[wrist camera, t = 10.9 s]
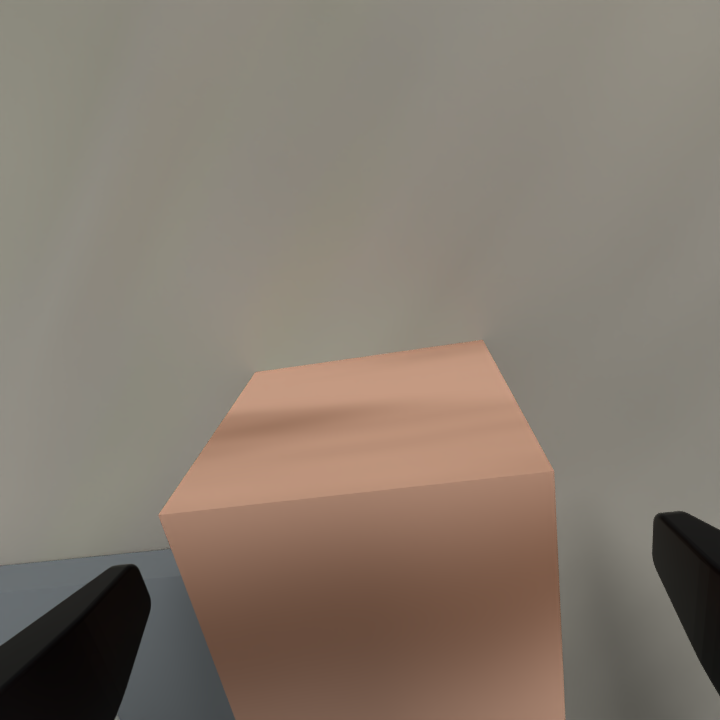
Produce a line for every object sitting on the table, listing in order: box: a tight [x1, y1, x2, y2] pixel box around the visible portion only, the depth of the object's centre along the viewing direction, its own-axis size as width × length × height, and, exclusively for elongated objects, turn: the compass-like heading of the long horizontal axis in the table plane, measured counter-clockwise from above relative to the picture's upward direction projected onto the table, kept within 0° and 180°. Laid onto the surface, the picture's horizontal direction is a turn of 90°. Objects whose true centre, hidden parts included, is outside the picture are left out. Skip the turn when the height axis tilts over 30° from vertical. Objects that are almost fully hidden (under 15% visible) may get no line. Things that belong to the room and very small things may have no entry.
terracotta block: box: [159, 340, 565, 720], centre depth 9 cm, size 5×5×5 cm
